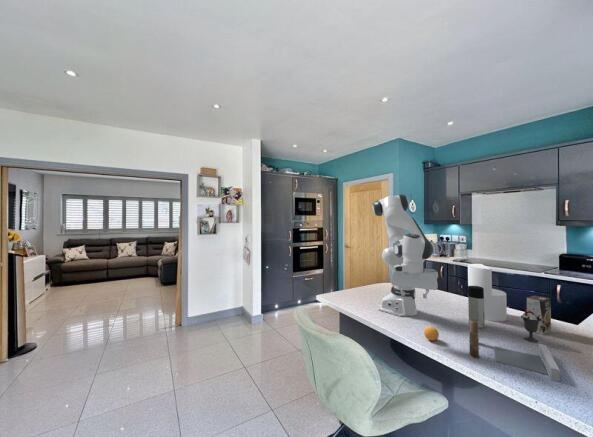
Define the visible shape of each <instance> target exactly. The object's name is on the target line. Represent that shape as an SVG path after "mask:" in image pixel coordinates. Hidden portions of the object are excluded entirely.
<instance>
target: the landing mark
mask: <svg viewBox="0 0 593 437" xmlns="http://www.w3.org/2000/svg"><path fill="white" fill-rule="evenodd" d="M493 347H494V348H493V349H494V354H495V360H496V363H500V364H503V365H508V366H512V367H514V368H518V369H523V370H527V371H531V372H535V373H539V374H543V375H548V371H547V369H546V367H545V365H544V363H543V361H542V359H541V357H540V355H536V354H532V353H526V352H522V351H518V350H512V349H510V348H509V349H508V348H504V347H501V346H500V347H499V346H496V345H494V346H493Z"/></svg>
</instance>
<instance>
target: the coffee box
mask: <svg viewBox="0 0 593 437" xmlns="http://www.w3.org/2000/svg"><path fill="white" fill-rule="evenodd" d="M551 302H552V301H551V298H550V297H545V296H538V295H531V296H528V297H526V309H527V310H526V311H531V312H533V313H535V314H536V316H537V317H538V316H539V315H540V317H539V318H540V319H541V321H539V323H538V329H537V331H536V332H535V333H536V334H539V335H542V336H543V335H546V334H547V333H550V332H551V331H552V314H551V313H552V311H551V310H552V307H551V306H552V304H551Z"/></svg>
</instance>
